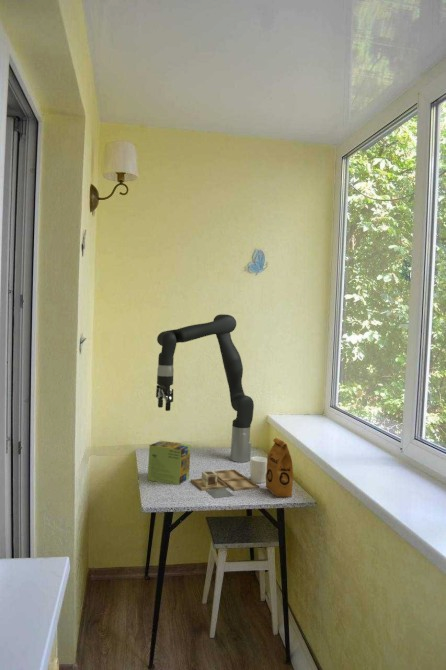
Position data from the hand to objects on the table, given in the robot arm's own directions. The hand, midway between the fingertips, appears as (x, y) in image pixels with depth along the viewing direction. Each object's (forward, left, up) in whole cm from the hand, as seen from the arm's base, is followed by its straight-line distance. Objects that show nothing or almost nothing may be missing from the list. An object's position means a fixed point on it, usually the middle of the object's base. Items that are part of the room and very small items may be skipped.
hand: (163, 409), depth 241 cm
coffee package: (-36, +46, -28) cm, 65 cm away
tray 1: (-11, +30, -28) cm, 42 cm away
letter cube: (-12, +30, -27) cm, 42 cm away
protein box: (+3, +18, -28) cm, 33 cm away
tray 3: (-24, +34, -28) cm, 50 cm away
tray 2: (-24, +22, -28) cm, 43 cm away
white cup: (-36, +30, -28) cm, 54 cm away
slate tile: (-11, +41, -28) cm, 51 cm away
